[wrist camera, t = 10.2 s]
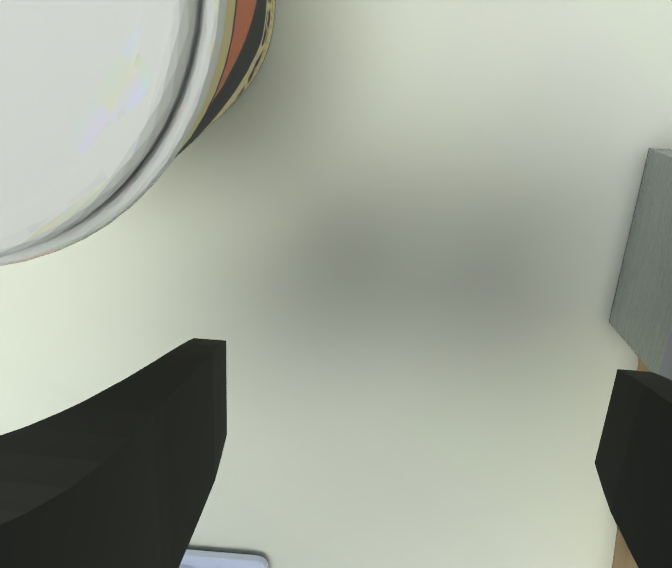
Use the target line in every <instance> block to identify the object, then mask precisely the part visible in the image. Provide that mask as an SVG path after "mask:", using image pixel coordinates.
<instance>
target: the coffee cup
mask: <svg viewBox="0 0 672 568" xmlns="http://www.w3.org/2000/svg"><path fill="white" fill-rule="evenodd" d="M274 14H275V0H0V266H2V265H7V264H13V263H18V262H24V261H27V260H31V259H34V258H37V257H40V256H43V255H46V254H50V253H53V252H56V251H58V250H61V249H63V248H65V247H67V246H70V245H72V244H74V243H76V242H78V241H81V240H83V239H85V238H87V237H88V236H90V235H92V234H93V233H95V232H97V231H98V230H100V229H102V228H103V227H105V226H107V225H108V224H110V223H111V222H112V221H113V220H115V219H116V218H117V217H119V216H120V215H121V214H122V213H124V212H125V211H126V210H127V209H129V208H130V207H131V206H132V205H133V204H134V203H135V202H136V201H137V200H138V199H139V198H140V197H141V196H142V195H143V194H144V193H145V192H146V191H147V190H148V189H149V188H150V187H151V186H152V185H153V184H154V183H155V182H156V181H157V179H158V178H159V177H160V176H161V174H162V173H163V172H164V171H165V169H166V168H167V167H168V165H169V164H170V163H171V162H172V160H173V159H174V158H175V157H176V156H177V155H178V154H180V153H181V152H182V151H183V150H184V149H185V148H186V147H187V146H188V145H189V144H191V143H192V142H193V141H194V140H195V139H196V138H197V137H198V136H199V135H201V134H202V133H203V132H204V131H205V130H206V129H207V128H208V127H209V126H210V125H211V124H212V123H213V122H214V121H216V120H217V119H218V118H219V117H220V116H221V115H222V114H223V113H224V112H225V111H226V110H227V109H228V108H229V107H230V106H231V105H232V104H233V103H234V102H235V101H236V100H237V99H238V98H239V97H240V96H241V94H242V93H243V92H244V91H245V89H246V88H247V87H248V86H249V84H250V83H251V82H252V80H253V78H254V77H255V75H256V74H257V72H258V70H259V68H260V66H261V64H262V62H263V60H264V58H265V55H266V52H267V50H268V47H269V43H270V40H271V36H272V30H273V24H274Z"/></svg>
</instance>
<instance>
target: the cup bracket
mask: <svg viewBox="0 0 672 568" xmlns="http://www.w3.org/2000/svg"><path fill="white" fill-rule="evenodd" d="M609 323H610V324H611V325H612V326H613V327H614V328H615V330H616V331H617V332H618V333H619V334H620V336H621V337H622V338H623V339H624V340H625V342H626V343H627V344H628V345H629V346H630V347H631V349H632V350H633V351H634V352H635V353H636V355H637V356H638V357H639V358H640V359H641V360H642V362H643V363H644V364H645V365H646V366H647V368H648V369H649V370H650V371H651V372H653V373H656V374H658V375H661V376H663V377H665V378H668V379H670V380H672V150H664V149H649V152H648V157H647V161H646V165H645V170H644V174H643V178H642V183H641V187H640V191H639V196H638V200H637V204H636V208H635V213H634V217H633V221H632V226H631V230H630V234H629V239H628V243H627V247H626V252H625V256H624V260H623V265H622V269H621V273H620V277H619V282H618V286H617V290H616V295H615V299H614V303H613V308H612V312H611V316H610V321H609Z"/></svg>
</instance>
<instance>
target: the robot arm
mask: <svg viewBox="0 0 672 568" xmlns="http://www.w3.org/2000/svg"><path fill="white" fill-rule="evenodd" d="M226 435H227V401H226V341H223V340H210V339H196V338H193V339H191V340H189V341H187V342H185V343H184V344H182V345H180V346H178V347H177V348H175V349H173V350H172V351H170V352H169V353H167V354H165V355H164V356H162V357H161V358H159V359H157V360H156V361H154V362H153V363H151V364H149V365H148V366H146V367H144V368H143V369H141V370H139V371H138V372H136V373H134V374H133V375H131V376H129V377H128V378H126V379H124V380H122V381H121V382H119V383H117V384H115V385H113V386H111V387H109V388H108V389H106V390H104V391H102V392H100V393H98V394H96V395H95V396H93V397H91V398H89V399H87V400H85V401H83V402H81V403H79V404H77V405H75V406H73V407H71V408H69V409H67V410H64V411H62V412H60V413H58V414H55V415H53V416H51V417H48V418H46V419H44V420H41V421H39V422H36V423H34V424H32V425H29V426H26V427H24V428H21V429H18V430H15V431H12V432H9V433H6V434H4V435H1V436H0V568H268V562H267V561H266V559H265V558H263V557H261V556H258V555H248V554H236V553H224V552H212V551H200V550H188V549H187V547H188V545H189V542H190V540H191V537H192V535H193V533H194V530H195V528H196V525H197V523H198V521H199V518H200V516H201V513H202V511H203V508H204V506H205V503H206V501H207V499H208V496H209V494H210V491H211V489H212V486H213V484H214V481H215V478H216V474H217V471H218V467H219V463H220V459H221V455H222V451H223V447H224V443H225V439H226ZM595 465H596V468H597V472H598V475H599V478H600V482H601V485H602V488H603V491H604V494H605V497H606V500H607V503H608V506H609V508H610V511H611V513H612V515H613V518H614V520H615V522H616V524H617V526H618V528H619V530H620V532H621V534H622V536H623V538H624V540H625V542H626V544H627V546H628V548H629V550H630V552H631V554H632V556H633V558H634V560H635V562H636V564H637V566H638V568H672V380H670V379H668V378H665V377H663V376H661V375H658V374H656V373H653V372H647V371H633V370H619V369H618V370H617V374H616V378H615V382H614V386H613V390H612V395H611V399H610V403H609V407H608V411H607V415H606V419H605V423H604V427H603V431H602V435H601V440H600V444H599V448H598V452H597V456H596V460H595Z"/></svg>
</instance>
